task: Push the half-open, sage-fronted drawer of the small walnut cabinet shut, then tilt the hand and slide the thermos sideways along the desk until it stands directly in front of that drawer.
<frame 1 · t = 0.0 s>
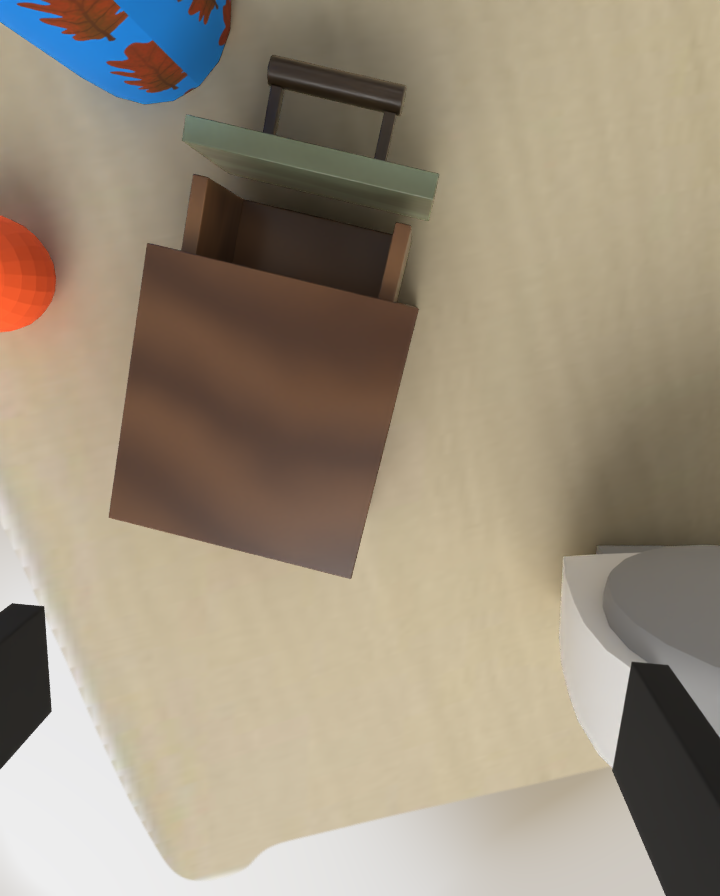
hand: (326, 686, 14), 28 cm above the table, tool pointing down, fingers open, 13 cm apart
thermos: (146, 8, 36), on the table
alarm clock: (673, 580, 42), on the table
clementine: (24, 269, 41), on the table
drawer: (305, 249, 34), point 5 cm above the table, slide at 5.0 cm
cabinet: (290, 393, 41), on the table
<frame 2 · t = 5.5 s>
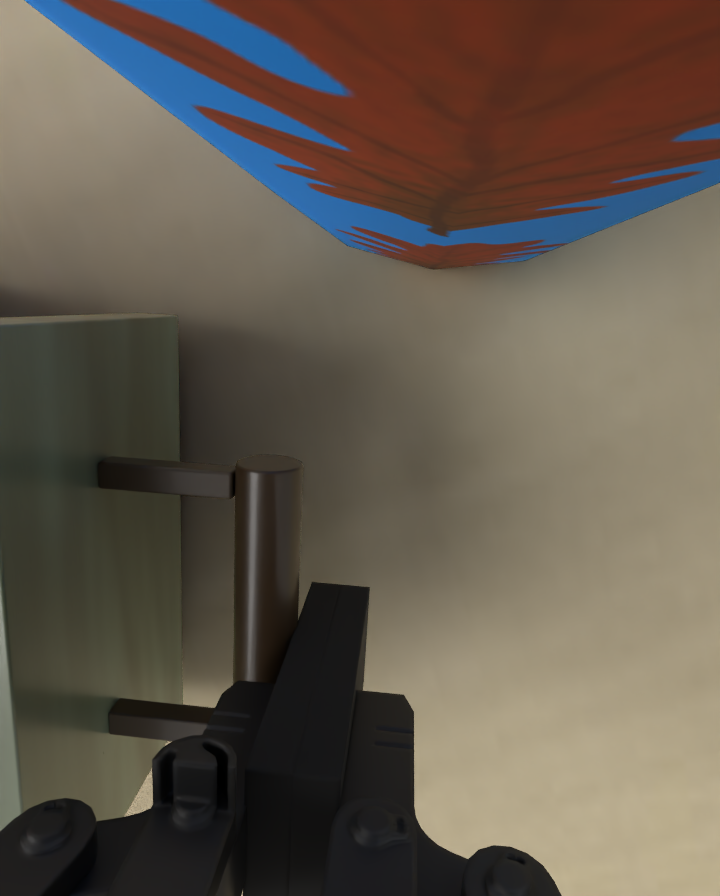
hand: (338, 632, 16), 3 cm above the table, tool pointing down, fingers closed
thermos: (454, 55, 16), on the table
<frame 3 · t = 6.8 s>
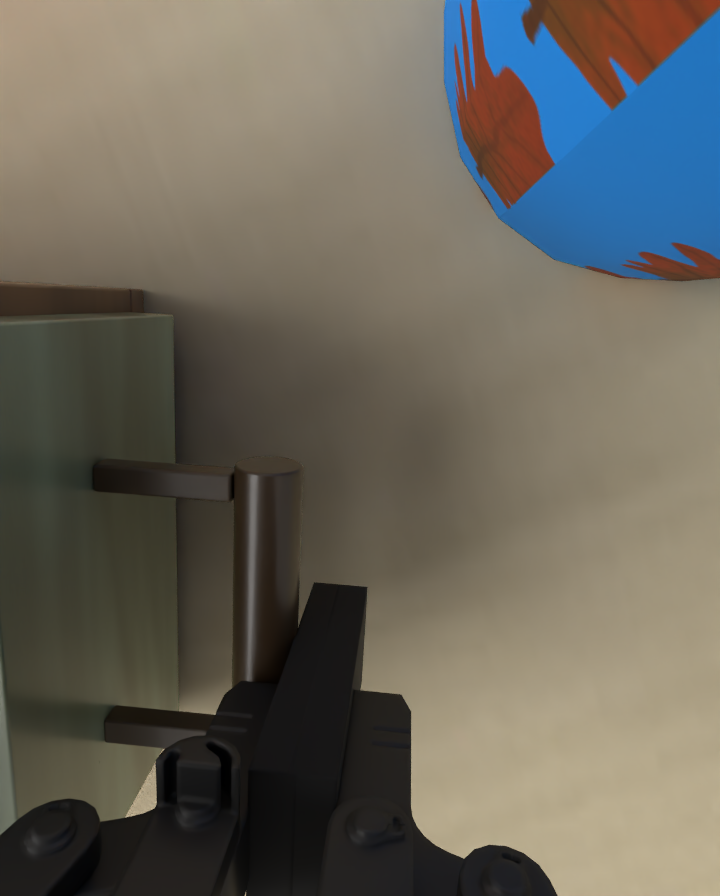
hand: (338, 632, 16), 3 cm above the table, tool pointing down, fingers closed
thermos: (657, 58, 15), on the table
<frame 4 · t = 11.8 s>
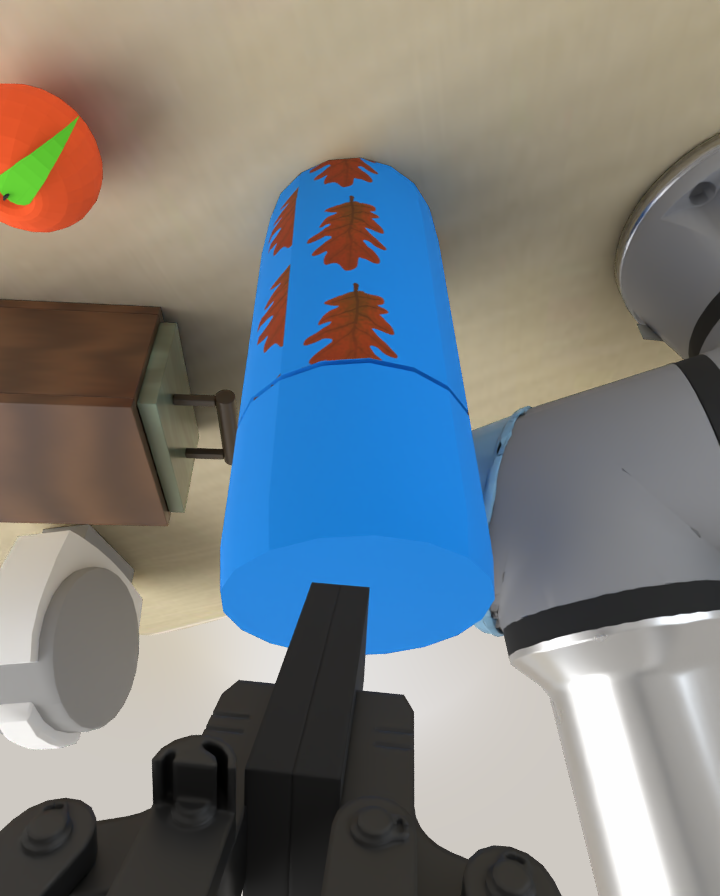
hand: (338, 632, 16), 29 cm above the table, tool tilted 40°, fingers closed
thermos: (351, 236, 39), on the table
alarm clock: (92, 549, 69), on the table
clementine: (56, 122, 34), on the table
drawer: (117, 420, 45), point 5 cm above the table, slide at 0.0 cm
cabinet: (80, 372, 48), on the table
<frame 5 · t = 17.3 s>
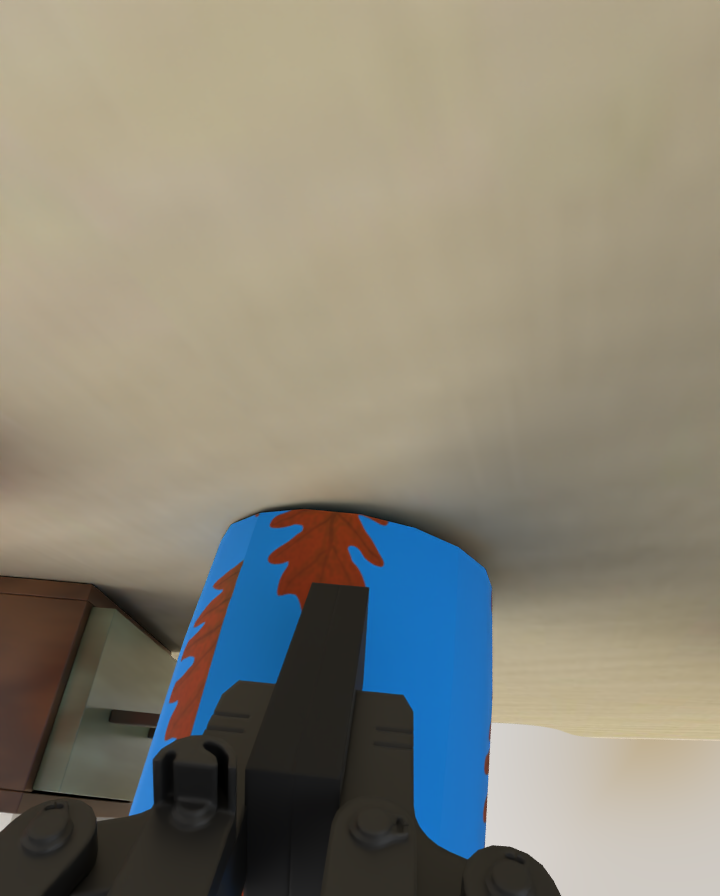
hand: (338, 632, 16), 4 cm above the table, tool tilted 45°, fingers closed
thermos: (355, 567, 24), on the table, touching gripper
drawer: (52, 706, 33), point 5 cm above the table, slide at 0.0 cm
cabinet: (17, 612, 36), on the table
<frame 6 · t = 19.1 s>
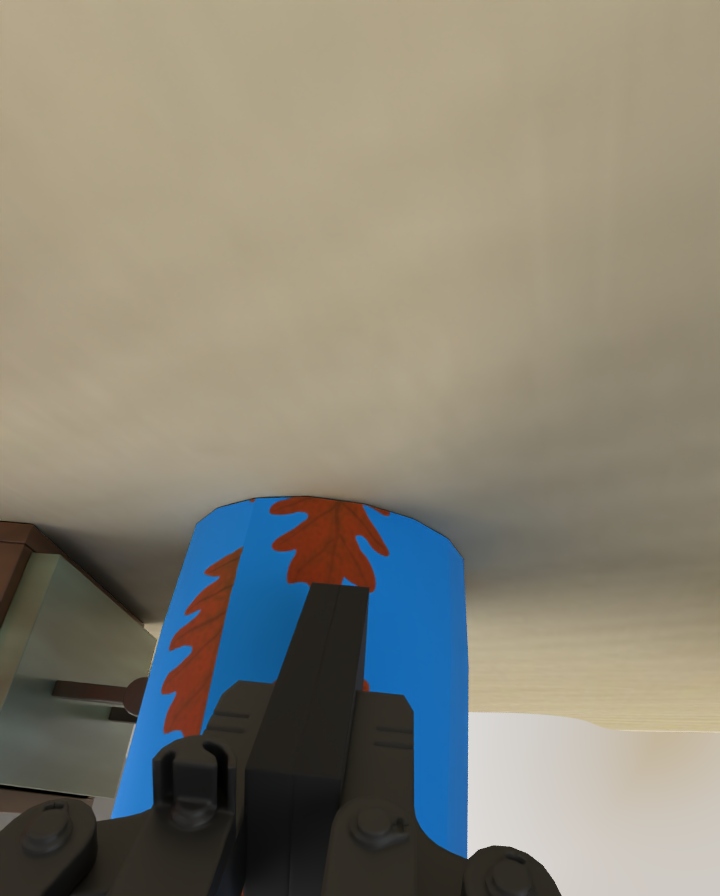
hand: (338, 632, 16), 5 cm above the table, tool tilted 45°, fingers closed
thermos: (328, 554, 24), on the table, touching gripper
alarm clock: (74, 677, 55), on the table
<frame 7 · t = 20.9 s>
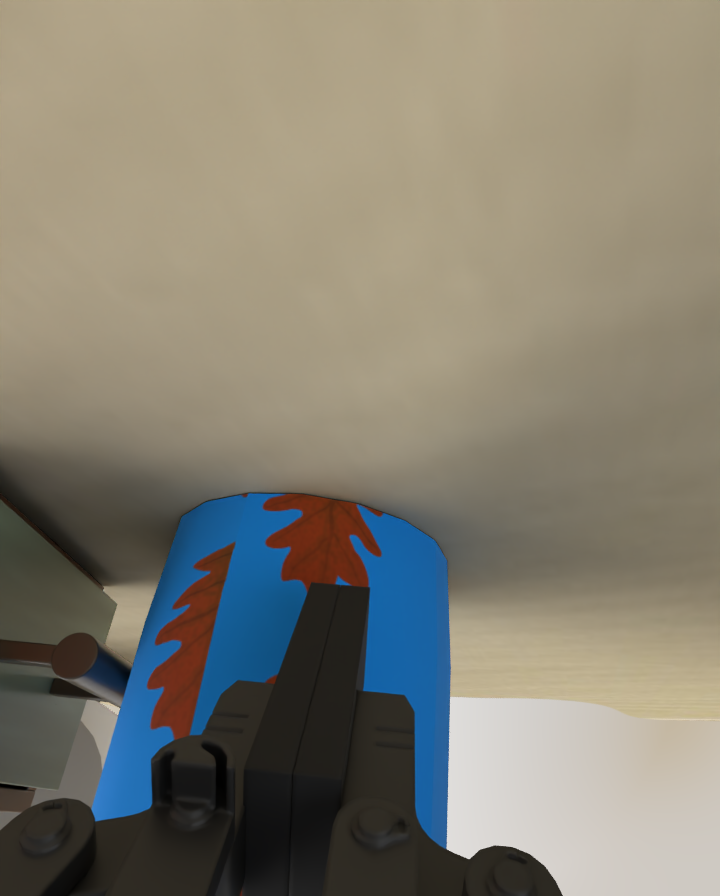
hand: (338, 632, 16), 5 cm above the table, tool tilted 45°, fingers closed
thermos: (312, 551, 24), on the table, touching gripper
alarm clock: (41, 660, 49), on the table
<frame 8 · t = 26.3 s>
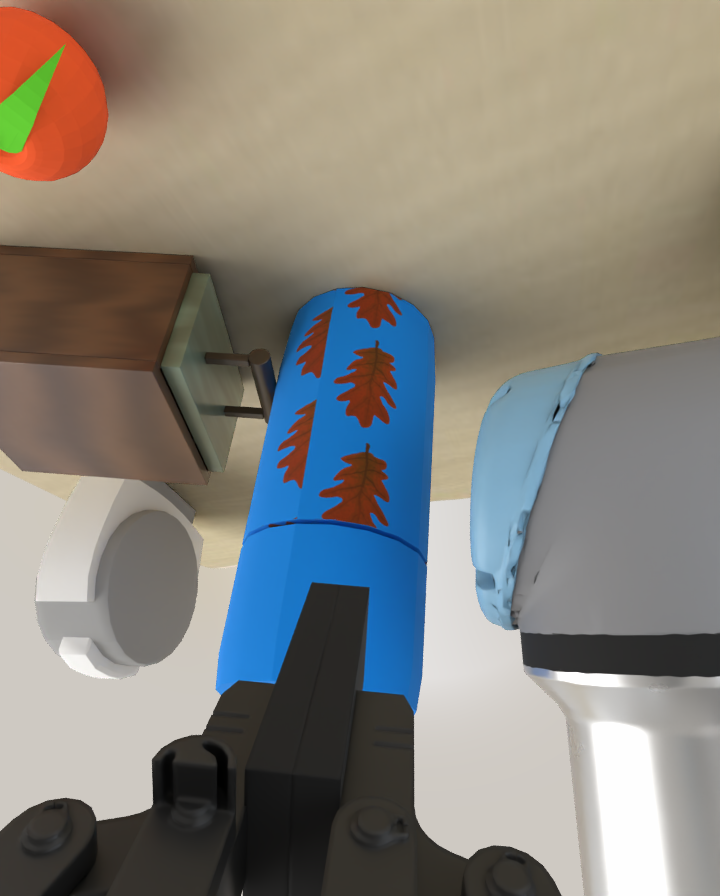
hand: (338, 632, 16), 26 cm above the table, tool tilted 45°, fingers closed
thermos: (362, 338, 45), on the table, touching drawer
alarm clock: (154, 489, 71), on the table
clementine: (60, 50, 30), on the table
drawer: (153, 376, 43), point 5 cm above the table, slide at 0.0 cm, touching cabinet, thermos
cabinet: (120, 322, 46), on the table
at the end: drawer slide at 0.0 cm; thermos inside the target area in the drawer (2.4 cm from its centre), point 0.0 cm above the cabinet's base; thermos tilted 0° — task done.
